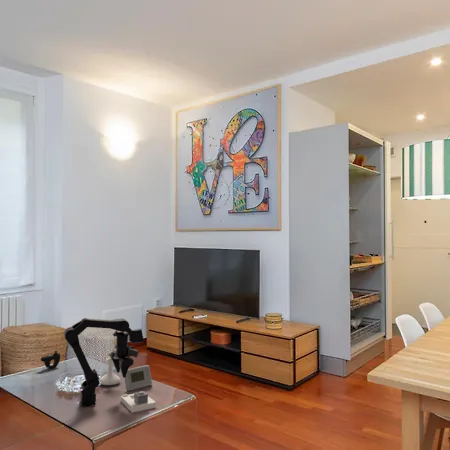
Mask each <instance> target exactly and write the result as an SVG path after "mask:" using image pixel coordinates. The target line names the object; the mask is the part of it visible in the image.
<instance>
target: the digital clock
mask: <svg viewBox="0 0 450 450" xmlns="http://www.w3.org/2000/svg"><path fill="white" fill-rule="evenodd" d="M124 383H125V390H126V391H127V392H130V391H136V390H139V389H142V388H147V387H149V386H151V385H153V381H152V374H151V369H150V365H148V364H146V365H139V366H135V367H129V368H128V371H127V374H126V377H125V378H124Z"/></svg>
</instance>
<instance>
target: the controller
mask: <svg viewBox="0 0 450 450" xmlns="http://www.w3.org/2000/svg"><path fill="white" fill-rule="evenodd" d="M61 356H62V355H61V353H59V351H58V350H55V351H54V353H52V354H49V355H46V356H42V357H41V358H40V361H41V362H43V365H44V366H45V368H47V369H51V370H52V369H55V368H56V367H57V366H58V365H59V363H60V360H61ZM52 361H53V363H52V364H51V362H52Z"/></svg>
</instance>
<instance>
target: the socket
mask: <svg viewBox="0 0 450 450" xmlns="http://www.w3.org/2000/svg"><path fill="white" fill-rule="evenodd" d="M120 402H121V403H122V405H124V407H126V408H127V409H128V411H130V412H131V413H137V412H142V411H145V410H146V411H147V410H151V409H155V407H156V404H157V403H156V401H155V400H154V399H152V398H151V397H150V396H149V395H148V403H144V404H139V405H138V404H137V403H136V402H135V401H134V393H131V394H127V393H125V394H122V395H121V396H120ZM156 408H157V407H156Z"/></svg>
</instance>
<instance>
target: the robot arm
mask: <svg viewBox="0 0 450 450" xmlns="http://www.w3.org/2000/svg"><path fill="white" fill-rule="evenodd" d="M87 328H96V329H111V330H114V332H113V333H112V336H113V337H114V338H117V340H116V346H115V348H114V349H115V350H114V351H113V350H112V351H111V352H110V353H109V354H110V356H109V358H111V359H112V361H113V367H114V368H115V371H116V373H120V372H121V375H122V378H123V379H125V377H126V374H127V371H128V369H130V368H131V367H132V366H133V365H134V363H135V360H134V359H133V358H132V357H134V358H138V355H139V351H138V350H137V349H135V347H134V346H133V345H130V346H129V342H130V343H131V344H138V343H140V344H141V343H143V342H144V336H143V329H142V328H139V329H132V328H130V323H129V322H128V320H127V319H125V318H115V319H96V318H86V317H84V318H82V319H81V320H80V321H78V322H76V323H75V324H73V325H72V326H70V327H67V328H66V329H64V331H63V336H64V339H65V341H66V342H67V343H68V345H69V346H70V348H71V349H73V352H74V355H75V356H76V358H77V361H78V363H79V365H80V367H81V370H82V371H83V376H84V381H83V382H82V383H81V384H80V387H81V390H80V399H79V404H80V406H81V407H82V408H83V407H89V406H93V405H96V404H97V403H96V402H97V393H96V389H97V388H98V387H99V385H100V382H99V381H100V379H101V377H99V374H98V373H97V370H96V368H93V369H92V367H91V366H90V364H89V362H88V360H87V358H86V355H85V352H84V351H83V349H82V346H81V344H80V339H79V335H81V333H83V332H84V330H86V329H87Z"/></svg>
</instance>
